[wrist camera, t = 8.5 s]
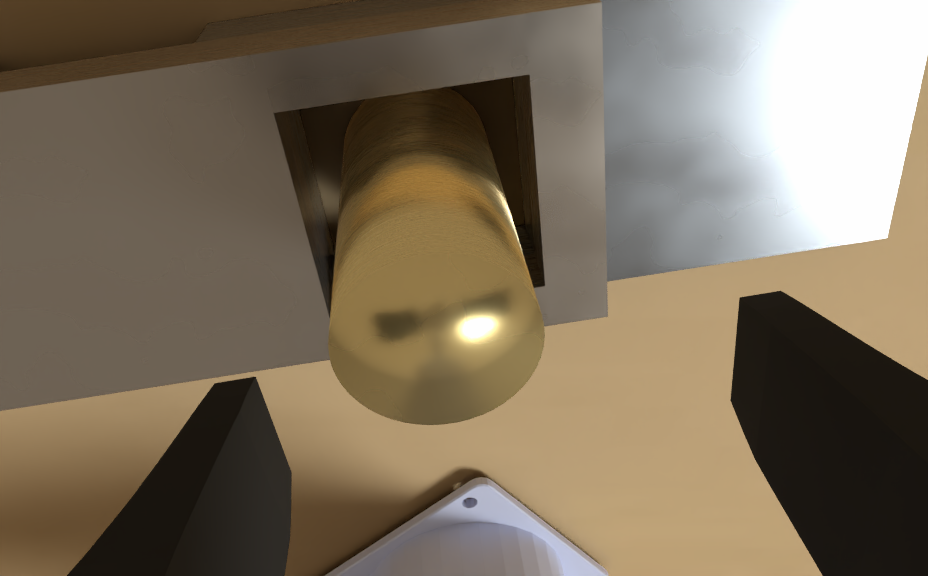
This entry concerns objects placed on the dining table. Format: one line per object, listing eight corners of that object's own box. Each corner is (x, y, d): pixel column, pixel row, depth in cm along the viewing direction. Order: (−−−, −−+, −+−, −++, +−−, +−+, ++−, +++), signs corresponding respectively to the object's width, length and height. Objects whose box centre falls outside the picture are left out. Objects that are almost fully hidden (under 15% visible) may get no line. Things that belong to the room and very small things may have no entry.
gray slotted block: (913, -83, 17) (1002, -59, 15) (857, 211, 22) (919, 268, 19) (-144, 76, 17) (-232, 127, 15) (9, 341, 21) (-39, 416, 19)
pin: (410, 237, 21) (428, 454, 14) (313, 145, 19) (281, 343, 13) (515, 154, 20) (585, 347, 13) (422, 49, 18) (449, 209, 11)
